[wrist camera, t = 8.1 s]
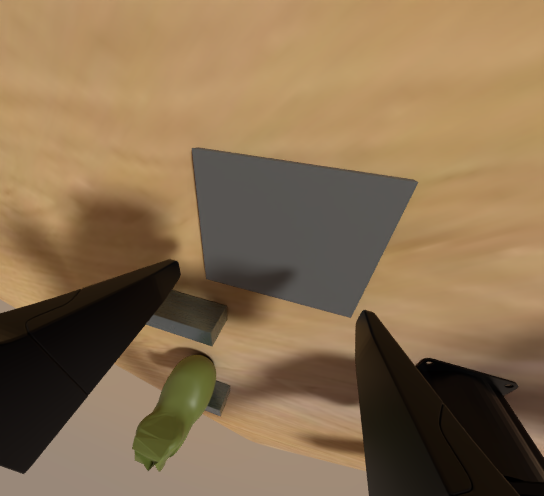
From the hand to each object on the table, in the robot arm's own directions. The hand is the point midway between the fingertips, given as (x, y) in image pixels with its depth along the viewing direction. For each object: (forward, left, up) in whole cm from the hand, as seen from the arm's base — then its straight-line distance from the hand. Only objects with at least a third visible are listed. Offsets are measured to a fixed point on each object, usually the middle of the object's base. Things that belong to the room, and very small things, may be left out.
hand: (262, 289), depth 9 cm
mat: (0, 0, -5) cm, 5 cm away
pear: (+8, +20, -5) cm, 22 cm away
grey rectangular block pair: (+8, +18, -5) cm, 20 cm away
